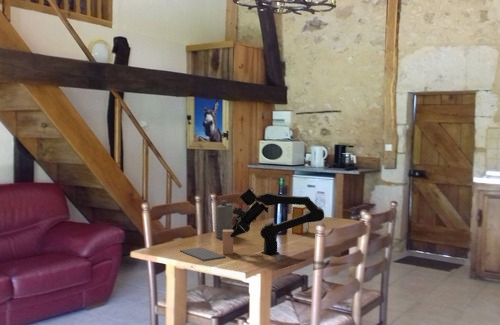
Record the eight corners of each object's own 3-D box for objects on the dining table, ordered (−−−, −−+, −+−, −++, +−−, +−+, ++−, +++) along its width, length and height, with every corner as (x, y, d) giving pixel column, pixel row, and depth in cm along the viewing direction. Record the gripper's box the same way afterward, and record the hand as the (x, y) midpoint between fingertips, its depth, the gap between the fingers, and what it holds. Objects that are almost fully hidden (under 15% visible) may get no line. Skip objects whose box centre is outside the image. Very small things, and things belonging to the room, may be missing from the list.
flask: (223, 233, 307) (224, 198, 306) (233, 234, 305) (233, 199, 304) (213, 238, 293) (213, 202, 292) (223, 239, 291) (223, 202, 290)
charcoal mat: (225, 257, 251) (225, 256, 251) (203, 260, 243) (203, 259, 243) (201, 248, 268) (201, 247, 268) (180, 251, 261) (180, 250, 261)
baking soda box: (298, 230, 319) (299, 204, 318) (308, 232, 315) (309, 205, 314) (291, 233, 310) (292, 206, 309) (302, 234, 307) (302, 207, 306)
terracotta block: (232, 251, 262) (233, 229, 262) (233, 254, 257) (233, 231, 257) (222, 251, 262) (222, 229, 261) (222, 254, 257) (223, 231, 256)
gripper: (241, 198, 268) (218, 219, 268) (243, 203, 249) (219, 226, 249) (256, 213, 269) (234, 235, 269) (259, 220, 250) (235, 243, 250)
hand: (230, 234), depth 259 cm, fingers open, 9 cm apart
